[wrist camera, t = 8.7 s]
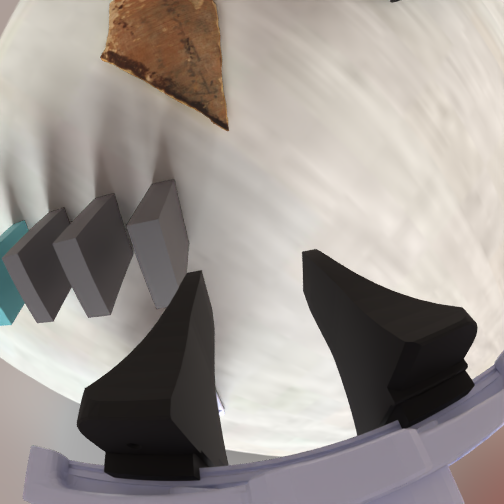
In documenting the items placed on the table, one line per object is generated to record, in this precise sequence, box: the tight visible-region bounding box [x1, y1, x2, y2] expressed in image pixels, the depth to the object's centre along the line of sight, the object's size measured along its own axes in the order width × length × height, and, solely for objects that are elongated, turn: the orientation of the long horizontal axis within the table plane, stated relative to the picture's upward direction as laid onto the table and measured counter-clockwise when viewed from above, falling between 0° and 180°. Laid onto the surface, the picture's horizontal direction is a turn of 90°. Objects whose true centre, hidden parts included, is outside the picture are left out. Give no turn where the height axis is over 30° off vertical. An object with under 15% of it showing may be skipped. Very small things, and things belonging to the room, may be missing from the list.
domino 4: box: [127, 179, 189, 309], centre depth 16 cm, size 2×5×7 cm, turn 6°
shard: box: [100, 0, 229, 131], centre depth 14 cm, size 11×8×2 cm
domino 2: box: [2, 208, 72, 323], centre depth 16 cm, size 2×5×7 cm, turn 6°
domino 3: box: [53, 193, 133, 318], centre depth 16 cm, size 2×5×7 cm, turn 6°
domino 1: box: [0, 220, 29, 326], centre depth 16 cm, size 2×5×7 cm, turn 6°
